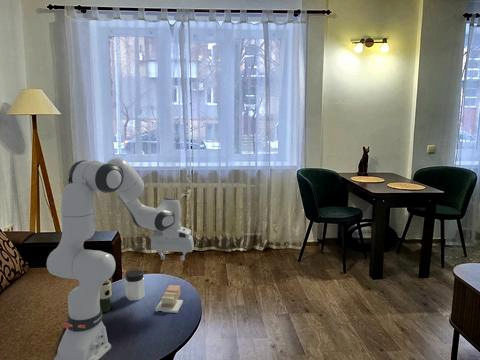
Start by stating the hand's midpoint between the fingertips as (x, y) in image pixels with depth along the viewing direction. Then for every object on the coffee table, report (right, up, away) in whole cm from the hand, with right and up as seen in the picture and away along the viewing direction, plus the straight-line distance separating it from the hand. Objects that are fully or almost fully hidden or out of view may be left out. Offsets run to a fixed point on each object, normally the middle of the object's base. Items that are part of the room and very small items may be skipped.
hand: (172, 259), depth 193 cm
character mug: (-29, -21, -9) cm, 37 cm away
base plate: (0, -20, -6) cm, 21 cm away
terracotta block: (0, -19, +4) cm, 19 cm away
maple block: (0, -19, -6) cm, 20 cm away
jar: (-18, -19, +3) cm, 26 cm away
